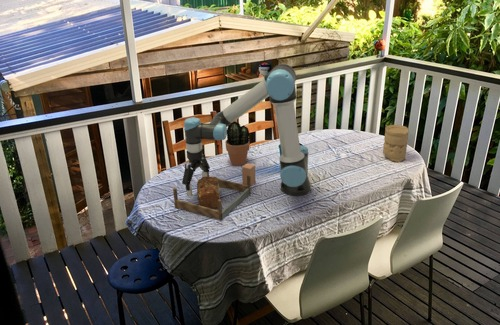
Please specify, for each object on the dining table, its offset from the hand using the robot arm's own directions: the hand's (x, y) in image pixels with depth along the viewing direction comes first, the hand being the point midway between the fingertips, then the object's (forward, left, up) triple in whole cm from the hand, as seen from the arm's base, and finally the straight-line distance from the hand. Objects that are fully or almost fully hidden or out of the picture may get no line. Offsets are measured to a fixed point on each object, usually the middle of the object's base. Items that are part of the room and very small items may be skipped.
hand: (197, 189), depth 222 cm
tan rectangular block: (-16, -23, -4) cm, 28 cm away
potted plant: (+2, -43, -4) cm, 43 cm away
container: (-76, -87, -4) cm, 116 cm away
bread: (-7, +1, -4) cm, 8 cm away
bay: (-10, 0, -4) cm, 11 cm away
